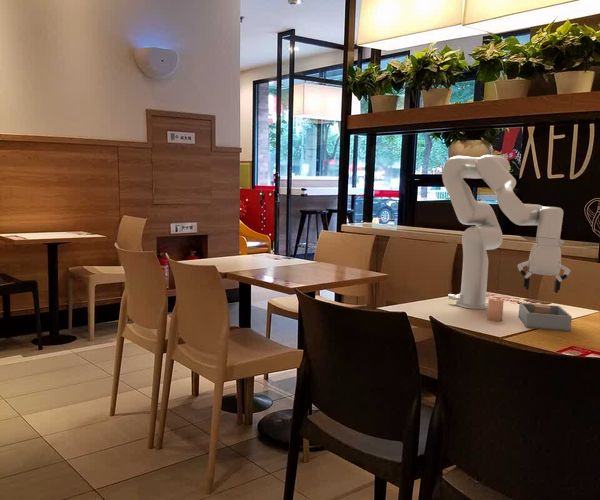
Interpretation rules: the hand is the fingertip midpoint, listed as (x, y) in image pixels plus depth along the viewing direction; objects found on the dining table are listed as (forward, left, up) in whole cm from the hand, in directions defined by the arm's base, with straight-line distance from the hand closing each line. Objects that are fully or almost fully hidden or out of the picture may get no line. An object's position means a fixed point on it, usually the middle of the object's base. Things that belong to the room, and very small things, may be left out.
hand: (540, 290), depth 198 cm
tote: (+1, -4, -11) cm, 12 cm away
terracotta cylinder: (-15, -4, -11) cm, 19 cm away
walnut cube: (+1, -1, -10) cm, 10 cm away
